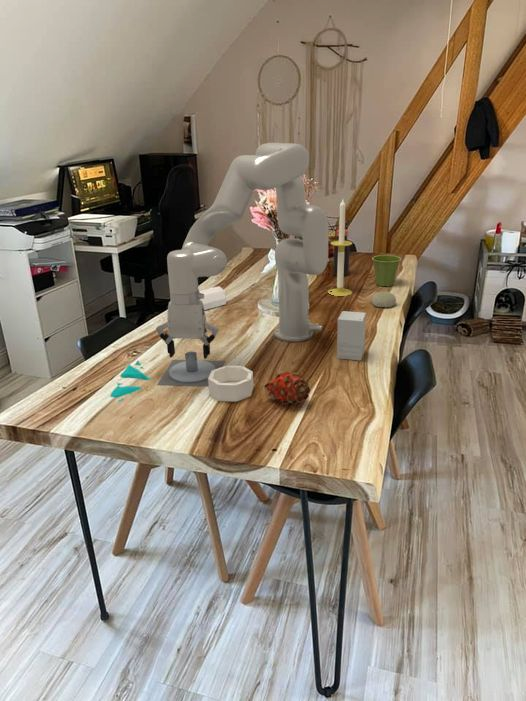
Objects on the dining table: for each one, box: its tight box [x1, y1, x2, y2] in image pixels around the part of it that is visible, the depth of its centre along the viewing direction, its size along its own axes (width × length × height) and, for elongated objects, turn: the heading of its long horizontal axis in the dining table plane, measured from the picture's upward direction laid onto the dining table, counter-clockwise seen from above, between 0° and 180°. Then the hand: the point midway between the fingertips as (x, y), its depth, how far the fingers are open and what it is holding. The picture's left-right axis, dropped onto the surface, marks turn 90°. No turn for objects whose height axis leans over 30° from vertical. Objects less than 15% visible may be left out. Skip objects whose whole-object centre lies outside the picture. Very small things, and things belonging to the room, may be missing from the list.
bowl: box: [208, 365, 254, 402], centre depth 136 cm, size 11×11×5 cm
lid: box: [169, 350, 215, 383], centre depth 146 cm, size 13×13×6 cm
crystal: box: [199, 286, 227, 311], centre depth 196 cm, size 7×7×24 cm
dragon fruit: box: [264, 371, 311, 406], centre depth 130 cm, size 8×8×12 cm
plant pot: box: [371, 254, 402, 287], centre depth 217 cm, size 12×12×11 cm
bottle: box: [332, 229, 351, 277], centre depth 229 cm, size 7×7×20 cm
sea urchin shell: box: [370, 290, 397, 309], centre depth 195 cm, size 9×8×8 cm
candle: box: [327, 198, 353, 297], centre depth 203 cm, size 10×10×38 cm
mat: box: [156, 359, 226, 388], centre depth 147 cm, size 16×16×1 cm
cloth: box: [109, 360, 153, 403], centre depth 143 cm, size 26×14×2 cm, turn 168°
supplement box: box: [336, 310, 367, 361], centre depth 153 cm, size 7×7×13 cm
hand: (189, 356), depth 145 cm, fingers open, 9 cm apart
